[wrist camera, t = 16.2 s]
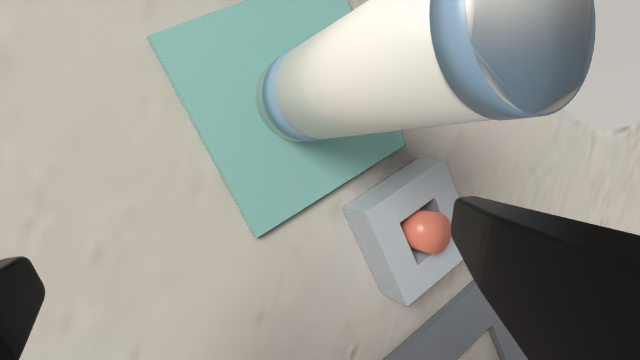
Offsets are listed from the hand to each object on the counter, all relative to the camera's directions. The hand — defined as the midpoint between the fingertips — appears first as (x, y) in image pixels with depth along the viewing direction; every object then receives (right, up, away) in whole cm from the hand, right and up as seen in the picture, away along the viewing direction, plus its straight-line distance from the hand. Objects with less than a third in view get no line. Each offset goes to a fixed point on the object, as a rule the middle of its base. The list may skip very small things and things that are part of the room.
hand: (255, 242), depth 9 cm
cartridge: (0, +6, +13) cm, 14 cm away
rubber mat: (0, +6, +14) cm, 15 cm away
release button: (+7, -2, +16) cm, 18 cm away
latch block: (+6, -2, +17) cm, 18 cm away
